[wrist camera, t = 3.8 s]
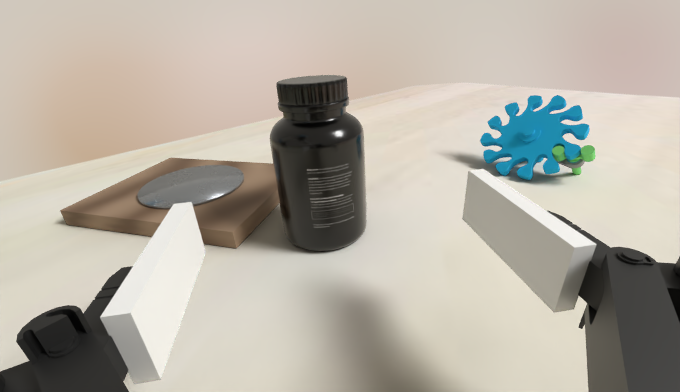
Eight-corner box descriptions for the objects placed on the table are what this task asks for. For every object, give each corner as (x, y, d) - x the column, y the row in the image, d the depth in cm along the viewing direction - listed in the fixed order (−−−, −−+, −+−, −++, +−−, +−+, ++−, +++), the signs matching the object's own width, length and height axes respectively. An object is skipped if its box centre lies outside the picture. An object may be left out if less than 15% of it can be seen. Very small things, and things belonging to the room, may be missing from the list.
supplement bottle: (374, 214, 30) (373, 71, 24) (355, 260, 24) (348, 86, 18) (303, 206, 31) (287, 73, 26) (269, 248, 26) (240, 87, 20)
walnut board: (67, 224, 31) (58, 207, 30) (173, 168, 43) (169, 155, 42) (236, 248, 26) (232, 228, 25) (303, 177, 38) (301, 163, 37)
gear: (460, 150, 38) (517, 81, 38) (476, 173, 43) (528, 111, 42) (552, 196, 31) (627, 109, 30) (560, 218, 35) (626, 143, 34)
